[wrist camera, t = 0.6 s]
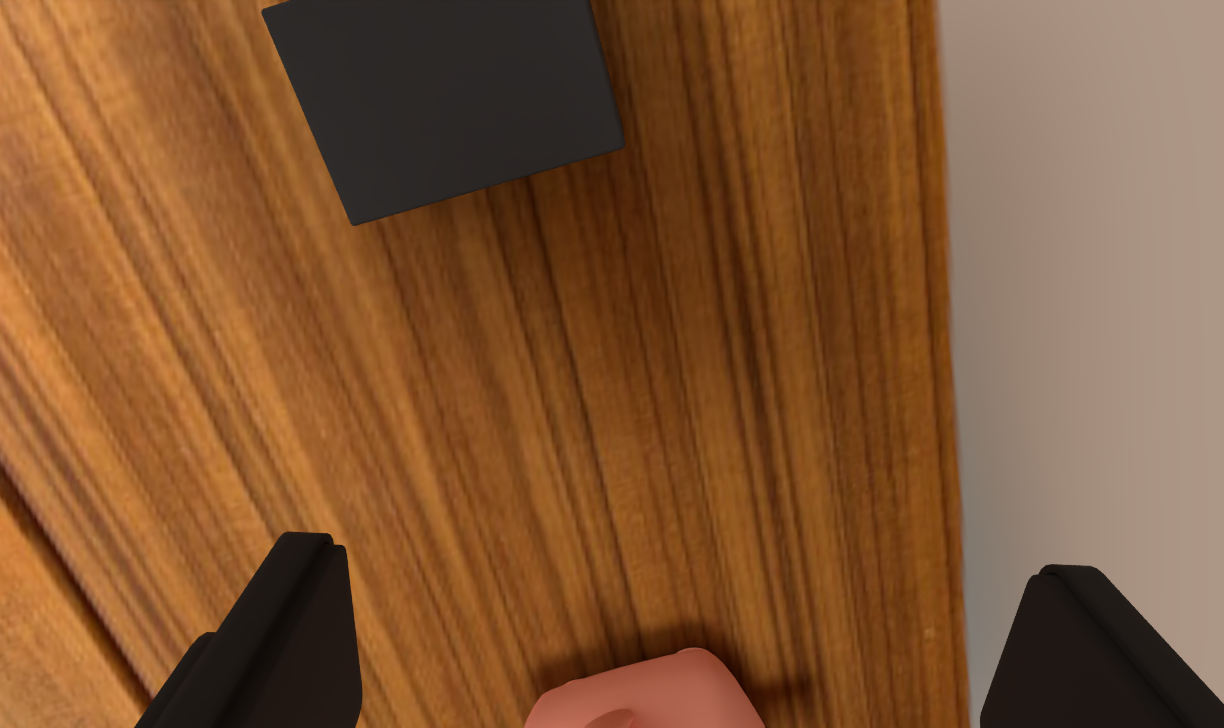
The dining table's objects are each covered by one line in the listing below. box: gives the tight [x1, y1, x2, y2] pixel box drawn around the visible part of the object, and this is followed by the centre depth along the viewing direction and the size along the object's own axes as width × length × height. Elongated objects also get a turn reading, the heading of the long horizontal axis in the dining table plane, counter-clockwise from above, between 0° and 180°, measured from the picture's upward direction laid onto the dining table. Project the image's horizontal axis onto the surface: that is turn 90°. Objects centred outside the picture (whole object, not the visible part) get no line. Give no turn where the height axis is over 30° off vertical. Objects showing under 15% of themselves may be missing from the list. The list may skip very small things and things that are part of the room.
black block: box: [261, 0, 625, 226], centre depth 18 cm, size 5×7×4 cm
